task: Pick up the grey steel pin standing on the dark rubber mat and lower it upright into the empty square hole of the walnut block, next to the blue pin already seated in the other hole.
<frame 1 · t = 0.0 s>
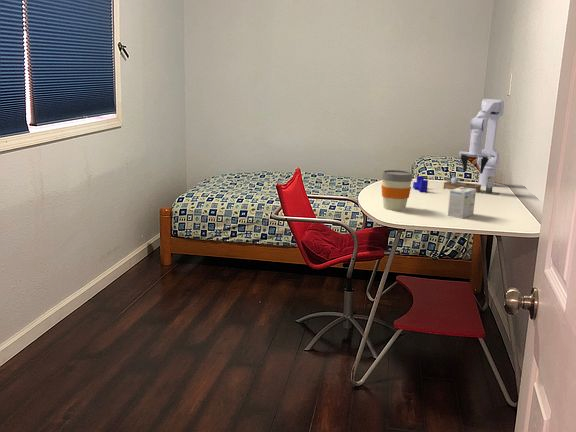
hand: (473, 172, 309), 10 cm above the table, tool pointing down, fingers open, 7 cm apart
reusable coffee cup: (394, 208, 270), on the table
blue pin: (453, 188, 321), resting in walnut hole block
walnut hole block: (461, 189, 319), on the table
rubber mat: (490, 193, 312), on the table
blue stepped block: (419, 190, 313), on the table
steel pin: (488, 192, 313), resting on rubber mat
light bulb box: (460, 215, 262), on the table
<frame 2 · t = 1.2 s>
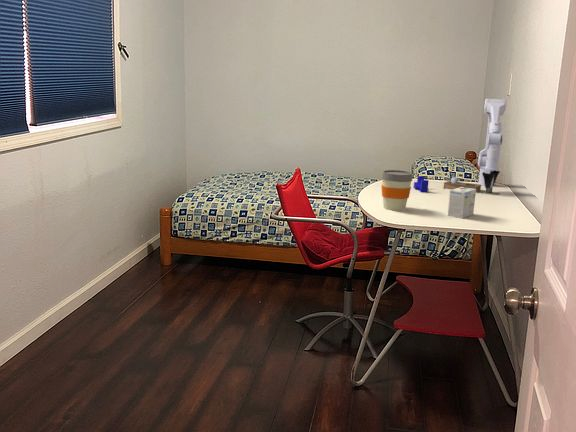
hand: (489, 186, 312), 3 cm above the table, tool pointing down, fingers open, 7 cm apart
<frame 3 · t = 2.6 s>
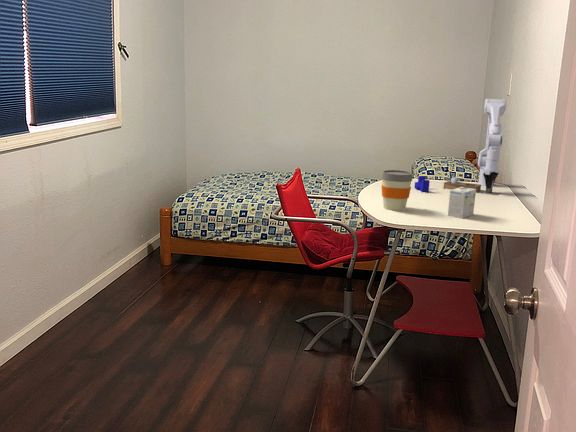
hand: (489, 187, 312), 3 cm above the table, tool pointing down, fingers closed on steel pin, 3 cm apart
steel pin: (488, 192, 313), resting on rubber mat, touching gripper
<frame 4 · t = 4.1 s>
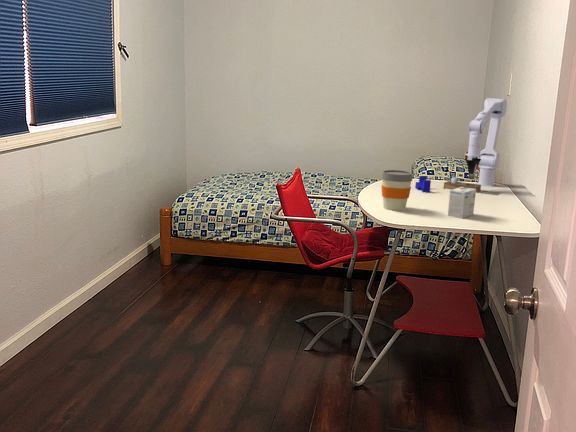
hand: (471, 173, 315), 9 cm above the table, tool pointing down, fingers closed on steel pin, 3 cm apart
steel pin: (471, 178, 316), point 6 cm above the table, touching gripper
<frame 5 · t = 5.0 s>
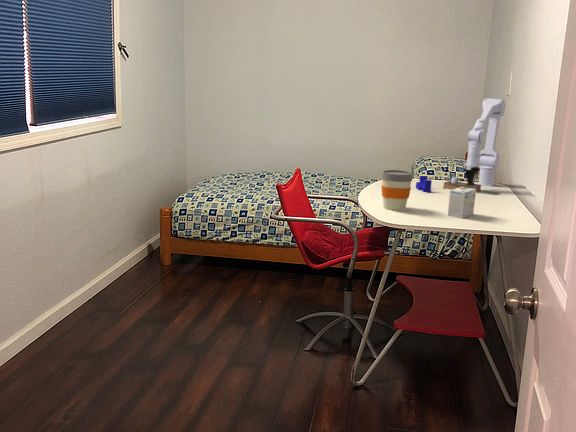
hand: (470, 183, 316), 4 cm above the table, tool pointing down, fingers closed on steel pin, 3 cm apart
steel pin: (470, 188, 317), point 1 cm above the table, touching gripper
when the fingers open (4 cm above the table, at t = 5.6 s): steel pin drops 1 cm, resting in walnut hole block.
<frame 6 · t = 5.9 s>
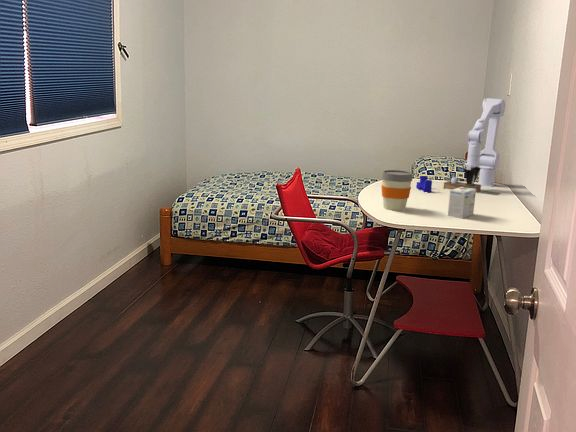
hand: (470, 182, 316), 4 cm above the table, tool pointing down, fingers open, 6 cm apart
steel pin: (470, 190, 317), resting in walnut hole block
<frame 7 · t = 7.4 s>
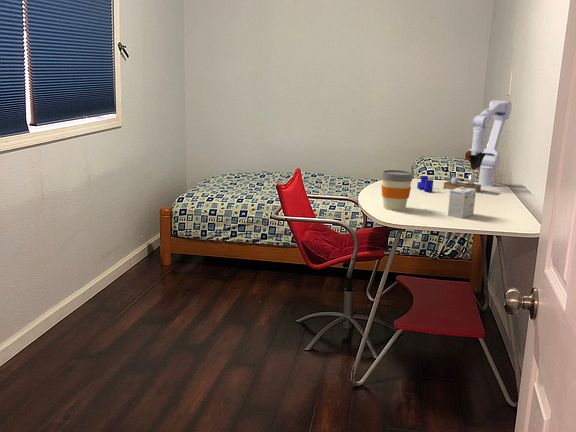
hand: (475, 168, 320), 10 cm above the table, tool pointing down, fingers open, 7 cm apart
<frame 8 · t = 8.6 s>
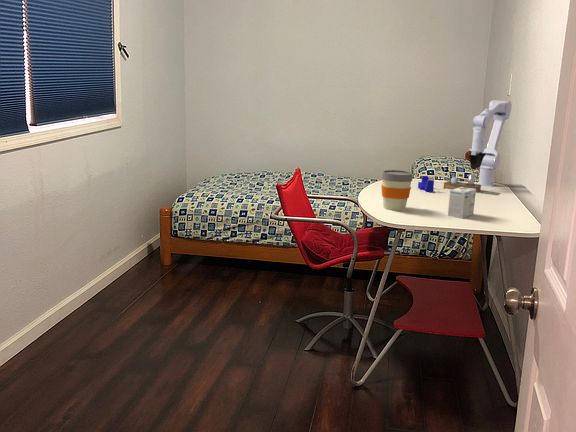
hand: (475, 168, 320), 10 cm above the table, tool pointing down, fingers open, 7 cm apart
at the end: steel pin 0.1 cm from the target spot on the walnut hole block, point 0.0 cm above the walnut hole block's base; steel pin tilted 0°; the gripper is holding nothing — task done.
